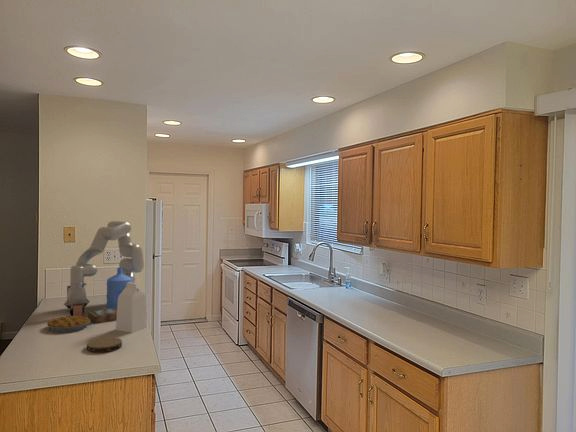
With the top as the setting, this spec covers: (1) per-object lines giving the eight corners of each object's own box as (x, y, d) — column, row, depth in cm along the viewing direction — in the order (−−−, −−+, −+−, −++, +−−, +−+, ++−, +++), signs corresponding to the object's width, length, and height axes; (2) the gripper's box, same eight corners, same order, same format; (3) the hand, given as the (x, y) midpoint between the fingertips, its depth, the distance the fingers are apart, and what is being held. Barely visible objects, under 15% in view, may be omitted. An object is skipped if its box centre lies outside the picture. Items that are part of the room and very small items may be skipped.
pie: (96, 328, 249) (96, 319, 248) (55, 336, 233) (55, 326, 232) (80, 320, 264) (80, 312, 263) (41, 327, 248) (41, 318, 247)
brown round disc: (108, 341, 227) (108, 335, 227) (128, 346, 219) (128, 340, 219) (79, 349, 213) (79, 343, 213) (100, 356, 205) (100, 349, 205)
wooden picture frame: (114, 314, 278) (114, 307, 278) (122, 319, 267) (122, 312, 267) (87, 318, 268) (87, 311, 268) (94, 323, 257) (95, 315, 257)
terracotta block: (79, 314, 276) (80, 303, 275) (82, 316, 272) (82, 305, 272) (71, 315, 272) (71, 304, 272) (73, 317, 269) (73, 306, 268)
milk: (146, 327, 251) (147, 282, 251) (131, 332, 241) (132, 285, 240) (131, 324, 256) (131, 280, 256) (115, 329, 246) (116, 283, 245)
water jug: (100, 311, 285) (101, 268, 284) (118, 306, 299) (119, 265, 298) (119, 314, 279) (120, 270, 278) (136, 309, 293) (137, 267, 292)
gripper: (89, 283, 280) (89, 311, 280) (60, 286, 269) (60, 315, 269) (93, 285, 274) (93, 314, 275) (63, 288, 263) (63, 318, 264)
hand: (76, 314), depth 272 cm, fingers open, 5 cm apart
